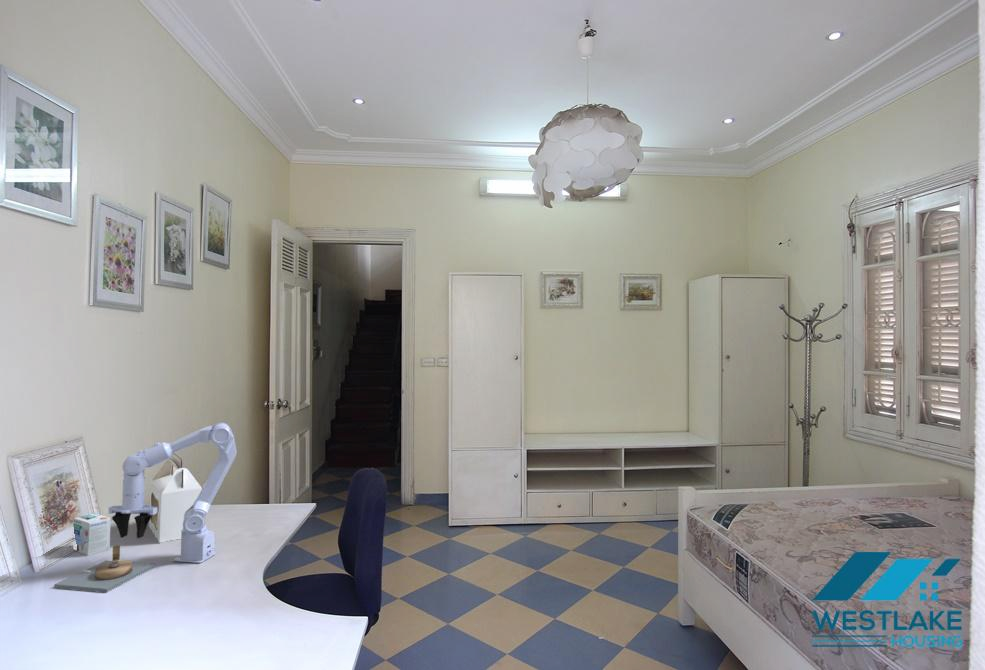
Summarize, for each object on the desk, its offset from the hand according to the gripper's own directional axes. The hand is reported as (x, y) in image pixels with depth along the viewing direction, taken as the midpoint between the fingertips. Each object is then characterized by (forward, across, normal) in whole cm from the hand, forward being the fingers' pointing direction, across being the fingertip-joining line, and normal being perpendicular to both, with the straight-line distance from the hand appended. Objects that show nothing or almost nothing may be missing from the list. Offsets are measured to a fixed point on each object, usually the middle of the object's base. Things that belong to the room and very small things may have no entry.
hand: (132, 536), depth 164 cm
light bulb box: (+10, -23, +12) cm, 28 cm away
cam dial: (+8, -1, -6) cm, 10 cm away
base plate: (+9, -2, -7) cm, 12 cm away
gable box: (+10, -8, +32) cm, 34 cm away
